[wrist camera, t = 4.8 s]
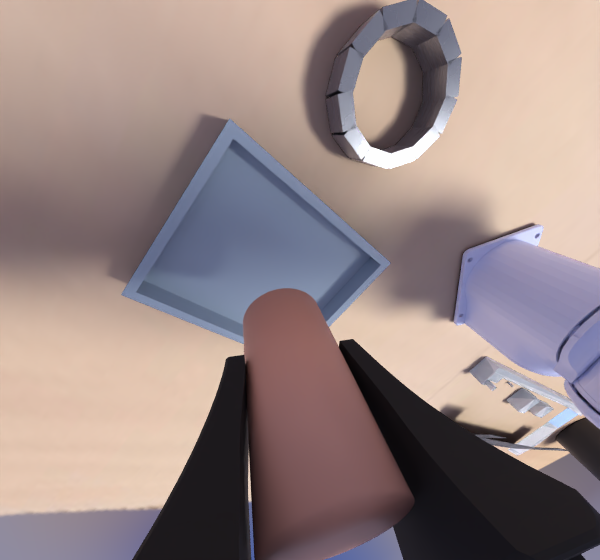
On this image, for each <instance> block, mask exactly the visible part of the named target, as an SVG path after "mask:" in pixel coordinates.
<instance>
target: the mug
mask: <svg viewBox="0 0 600 560" xmlns="http://www.w3.org/2000/svg"><path fill="white" fill-rule="evenodd" d="M556 439H557V441H558V442H559V443H560V444H561V445H562V446H563V447H564V448H565V449H566V450H568V451H569V452H570V453H571V454H572V455H573V456H574V457H575V458H576V459H577V460H578V461H579V462H580V463H581V464H583V466H585V467H586V468H587V469H588V470H589V471H590V472H591V473H592V474H593V475H594V476H595V477H596V478H597V479H598V480H600V429H599V428H598V427H596V426H595V425H594V424H593V423H592V422H590V421H589V420H588V419H587V418H585V419H581V420H579V421H577V422H575V423H573V424H571V425H569V426H568V427H566V428H565V429H564V430H562V431H561V432H560V433H559V434H558V436H557V438H556Z"/></svg>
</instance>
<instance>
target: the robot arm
mask: <svg viewBox="0 0 600 560" xmlns="http://www.w3.org/2000/svg"><path fill="white" fill-rule="evenodd" d="M542 231H543V226H542V225H534V226H532V227H529V228H526V229H523V230H520V231H518V232H515V233H512V234H509V235H506V236H504V237H501V238H498V239H495V240H493V241H490V242H487V243H484V244H481V245H479V246H476V247H473V248H470V249H468V250H466V251H465V252H464V254H463V258H462V266H461V273H460V280H459V287H458V295H457V302H456V309H455V316H454V323H455V324H456V325H461V324H464V323H465V324H466V325H467V326H469V327H470V328H471V329H472V330H474V331H475V332H476V333H477V334H479V335H480V336H481V337H482V338H484V339H485V340H486V341H487V342H489V343H490V344H491V345H492V346H493V347H495V348H496V349H497V350H498V351H500V352H501V353H502V354H503V355H505V356H506V357H507V358H508V359H510V360H511V361H512V362H514V363H515V364H517V365H519V366H520V367H522V368H525V369H527V370H529V371H532V372H535V373H538V374H541V375H546V376H562V377H563V378H565V379H566V380H565V382H564V387H565V390H566V392H567V394H568V396H569V397H570V399H571V400H572V402H573V403H574V405H575V406H576V407H577V409H578V410H579V411H580V412H581V413H582V414H583V415H584V416H585V417H586V418H587V419H588V420H589V421H590V422H592V423H593V424H594V425H595V426H596V427H598V428H599V429H600V268H597V267H594V266H591V265H588V264H586V263H583V262H580V261H577V260H575V259H572V258H569V257H566V256H563V255H561V254H558V253H555V252H552V251H550V250H547V249H544V248H541V247H538V244H539V241H540V238H541V234H542ZM339 349H340V351H341V353H342V355H343V357H344V359H345V361H346V363H347V365H348V367H349V369H350V371H351V373H352V375H353V377H354V379H355V381H356V383H357V385H358V387H359V389H360V391H361V393H362V395H363V397H364V399H365V401H366V403H367V405H368V407H369V409H370V411H371V413H372V415H373V417H374V419H375V421H376V423H377V425H378V427H379V429H380V431H381V433H382V435H383V437H384V439H385V441H386V443H387V445H388V447H389V449H390V451H391V453H392V455H393V457H394V459H395V461H396V463H397V465H398V467H399V469H400V471H401V473H402V475H403V477H404V479H405V481H406V483H407V485H408V487H409V489H410V491H411V493H412V495H413V497H414V499H415V502H414V506H413V507H412V509H411V510H410V512H409V513H408V514H407V515H406V516H405V517H404V518H403V519H402V520H400V521H399V522H398V523H397V524H395V525H394V526H393V528H394V531H395V534H396V537H397V540H398V544H399V547H400V550H401V553H402V556H403V559H404V560H585V558H584V557H583V556H582V555H581V554H582V553H584V552H586V551H588V550H590V549H592V548H594V547H596V546H598V545H600V514H599V513H598V512H597V511H596V510H595V509H594V508H593V507H592V506H591V505H590V504H589V503H588V502H587V500H585V499H584V498H583V496H582V495H581V494H580V493H579V492H578V491H577V490H575V489H573V488H571V487H569V486H567V485H565V484H563V483H562V482H560V481H557V480H556V479H554V478H552V477H550V476H548V475H546V474H544V473H542V472H540V471H538V470H536V469H534V468H532V467H530V466H528V465H526V464H524V463H522V462H521V461H519V460H517V459H515V458H513V457H512V456H510V455H508V454H506V453H504V452H503V451H501V450H499V449H497V448H496V447H494V446H492V445H491V444H489V443H487V442H485V441H484V440H482V439H481V438H479V437H477V436H476V435H474V434H473V433H471V432H469V431H468V430H466V429H465V428H463V427H461V426H460V425H458V424H457V423H455V422H454V421H452V420H451V419H449V418H448V417H446V416H445V415H443V414H442V413H441V412H439V411H438V410H436V409H435V408H433V407H432V406H431V405H429V404H428V403H427V402H425V401H424V400H422V399H421V398H420V397H419V396H417V395H416V394H415V393H414V392H412V391H411V390H410V389H408V388H407V387H406V386H405V385H404V384H402V383H401V382H400V381H399V380H398V379H396V378H395V377H394V376H393V375H392V374H391V373H389V372H388V371H387V370H386V369H385V368H384V367H383V366H382V365H380V364H379V363H378V362H377V361H376V360H375V359H374V358H373V357H372V356H371V355H370V354H368V353H367V352H366V351H365V350H364V349H363V348H362V347H361V346H360V345H359V344H358V343H357V342H355V341H354V340H353V339H350V340H344V341H340V343H339ZM248 455H249V437H248V417H247V393H246V367H245V356H244V355H240V356H233V357H228V358H227V359H226V362H225V367H224V371H223V375H222V378H221V381H220V385H219V388H218V391H217V394H216V396H215V399H214V402H213V404H212V407H211V410H210V412H209V415H208V417H207V419H206V422H205V424H204V426H203V429H202V431H201V433H200V436H199V438H198V440H197V442H196V445H195V447H194V449H193V451H192V453H191V455H190V457H189V459H188V461H187V463H186V465H185V467H184V469H183V471H182V473H181V475H180V477H179V479H178V481H177V483H176V485H175V486H174V488H173V490H172V492H171V494H170V496H169V497H168V499H167V501H166V503H165V505H164V507H163V508H162V510H161V512H160V514H159V516H158V518H157V519H156V521H155V523H154V524H153V526H152V528H151V530H150V531H149V533H148V535H147V536H146V538H145V539H144V541H143V543H142V545H141V546H140V548H139V549H138V551H137V553H136V554H135V556H134V558H133V559H132V560H251V545H250V526H249V505H248Z"/></svg>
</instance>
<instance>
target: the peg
mask: <svg viewBox="0 0 600 560" xmlns="http://www.w3.org/2000/svg"><path fill="white" fill-rule="evenodd" d="M243 337H244V356H245V367H246V393H247V417H248V437H249V457H250V477H251V498H252V518H253V537H254V558H255V560H324V559H327V558H330V557H333V556H336V555H338V554H341V553H343V552H346V551H348V550H350V549H353V548H355V547H357V546H359V545H361V544H364V543H365V542H367V541H369V540H371V539H373V538H375V537H377V536H379V535H380V534H382V533H384V532H385V531H387V530H388V529H390V528H391V527H393V526H394V525H395V524H397V523H398V522H399V521H400V520H402V519H403V518H404V517H405V516H406V515H407V514H408V513H409V512H410V510H411V509H412V507H413V506H414V502H415V499H414V497H413V495H412V493H411V491H410V489H409V487H408V485H407V483H406V481H405V479H404V477H403V475H402V473H401V471H400V469H399V467H398V465H397V463H396V461H395V459H394V457H393V455H392V453H391V451H390V449H389V447H388V445H387V443H386V441H385V439H384V437H383V435H382V433H381V431H380V429H379V427H378V425H377V423H376V421H375V419H374V417H373V415H372V413H371V411H370V409H369V407H368V405H367V403H366V401H365V399H364V397H363V395H362V393H361V391H360V389H359V387H358V385H357V383H356V381H355V379H354V377H353V375H352V373H351V371H350V369H349V367H348V365H347V363H346V361H345V359H344V357H343V355H342V353H341V351H340V349H339V347H338V345H337V343H336V341H335V339H334V337H333V335H332V333H331V331H330V329H329V327H328V325H327V323H326V321H325V319H324V317H323V315H322V313H321V311H320V309H319V307H318V305H317V303H316V301H315V300H314V299H313V298H312V297H311V296H310V295H309V294H307V293H306V292H304V291H301V290H298V289H292V288H282V289H276V290H272V291H269V292H267V293H265V294H263V295H261V296H260V297H258V298H257V299H256V300H254V301H253V302H252V303H251V304H250V306H249V307H248V309H247V310H246V312H245V315H244V318H243Z"/></svg>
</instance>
